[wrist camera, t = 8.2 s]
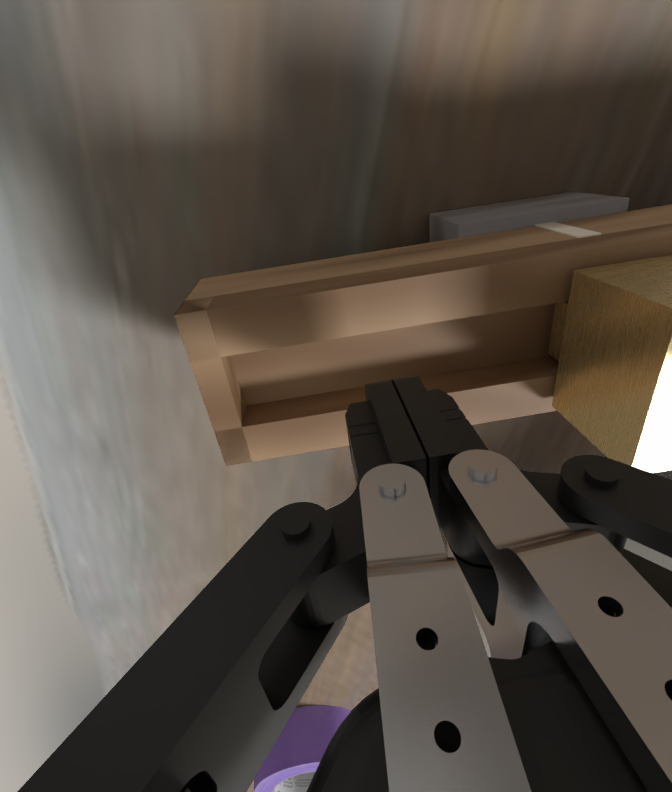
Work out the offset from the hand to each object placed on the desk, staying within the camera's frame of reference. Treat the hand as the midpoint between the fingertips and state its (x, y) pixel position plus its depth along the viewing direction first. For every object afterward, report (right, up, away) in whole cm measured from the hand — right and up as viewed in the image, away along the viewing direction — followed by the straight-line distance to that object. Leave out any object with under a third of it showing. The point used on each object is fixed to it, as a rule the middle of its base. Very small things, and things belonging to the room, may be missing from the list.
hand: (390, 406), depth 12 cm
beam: (+7, +7, +10) cm, 14 cm away
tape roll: (-5, -37, +34) cm, 50 cm away
